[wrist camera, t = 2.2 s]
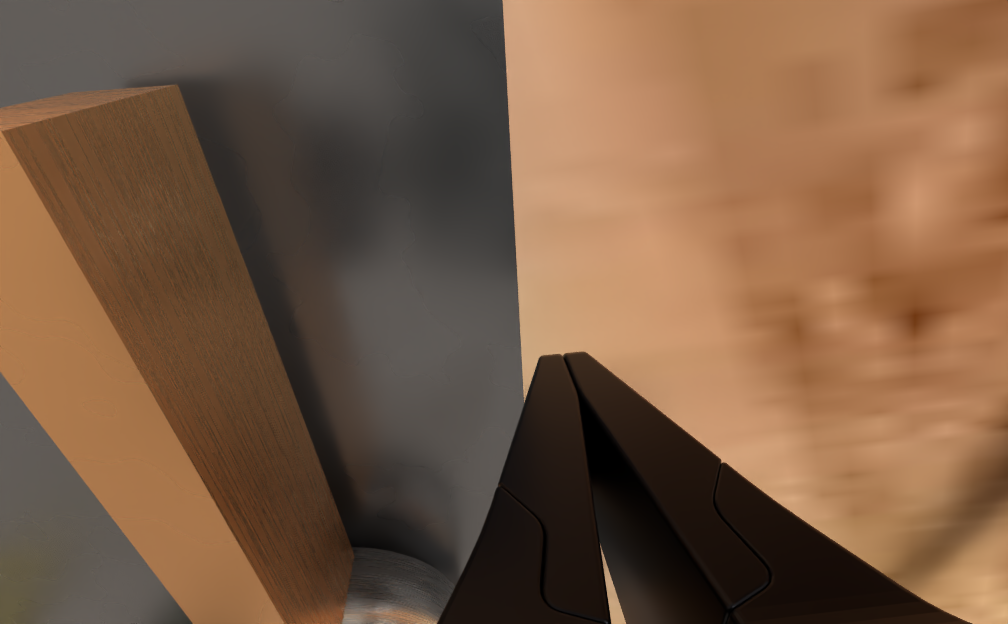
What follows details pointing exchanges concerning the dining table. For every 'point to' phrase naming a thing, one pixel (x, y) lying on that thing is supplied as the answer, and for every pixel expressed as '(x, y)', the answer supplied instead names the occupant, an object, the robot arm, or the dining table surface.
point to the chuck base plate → (308, 263)
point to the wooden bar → (172, 369)
